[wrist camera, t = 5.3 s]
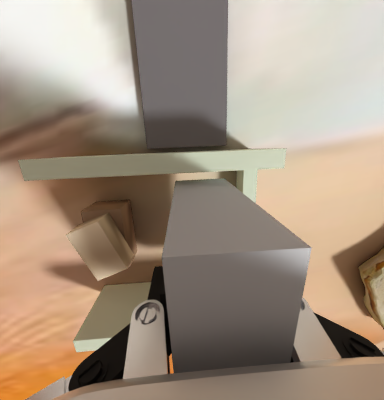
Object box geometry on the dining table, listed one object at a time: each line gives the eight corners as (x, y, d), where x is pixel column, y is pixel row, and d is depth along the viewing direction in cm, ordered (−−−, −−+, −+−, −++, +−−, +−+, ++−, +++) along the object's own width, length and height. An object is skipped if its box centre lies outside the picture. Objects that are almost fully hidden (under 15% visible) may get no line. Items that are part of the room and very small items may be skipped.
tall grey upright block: (175, 181, 13) (161, 257, 4) (224, 178, 13) (311, 247, 4) (183, 292, 16) (184, 474, 7) (222, 290, 16) (271, 464, 7)
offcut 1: (97, 201, 17) (80, 211, 14) (130, 199, 18) (120, 209, 15) (107, 251, 19) (94, 269, 16) (137, 249, 19) (130, 267, 16)
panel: (128, -43, 13) (126, -52, 12) (226, -42, 13) (228, -52, 12) (148, 148, 16) (147, 148, 16) (224, 145, 16) (226, 145, 16)
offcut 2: (80, 224, 15) (65, 234, 13) (108, 212, 15) (97, 221, 13) (107, 265, 16) (97, 280, 14) (133, 254, 16) (127, 268, 14)
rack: (77, 156, 16) (18, 160, 10) (249, 148, 17) (286, 148, 11) (106, 294, 20) (76, 352, 14) (243, 283, 21) (267, 334, 15)
